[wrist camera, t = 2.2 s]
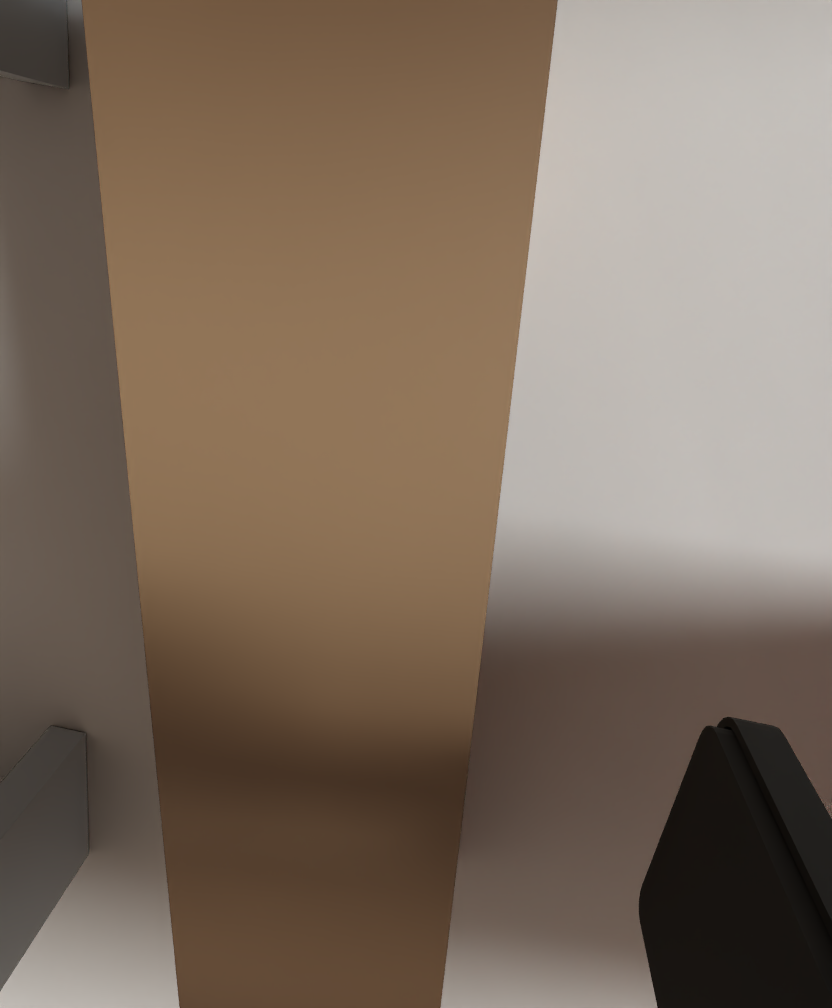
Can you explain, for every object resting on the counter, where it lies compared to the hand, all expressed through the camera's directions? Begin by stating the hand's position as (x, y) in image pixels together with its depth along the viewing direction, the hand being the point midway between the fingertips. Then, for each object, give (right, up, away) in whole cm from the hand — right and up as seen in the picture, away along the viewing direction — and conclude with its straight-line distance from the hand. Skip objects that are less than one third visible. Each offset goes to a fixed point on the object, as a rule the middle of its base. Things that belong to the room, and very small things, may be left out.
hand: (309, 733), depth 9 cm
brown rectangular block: (+1, +2, +4) cm, 5 cm away
